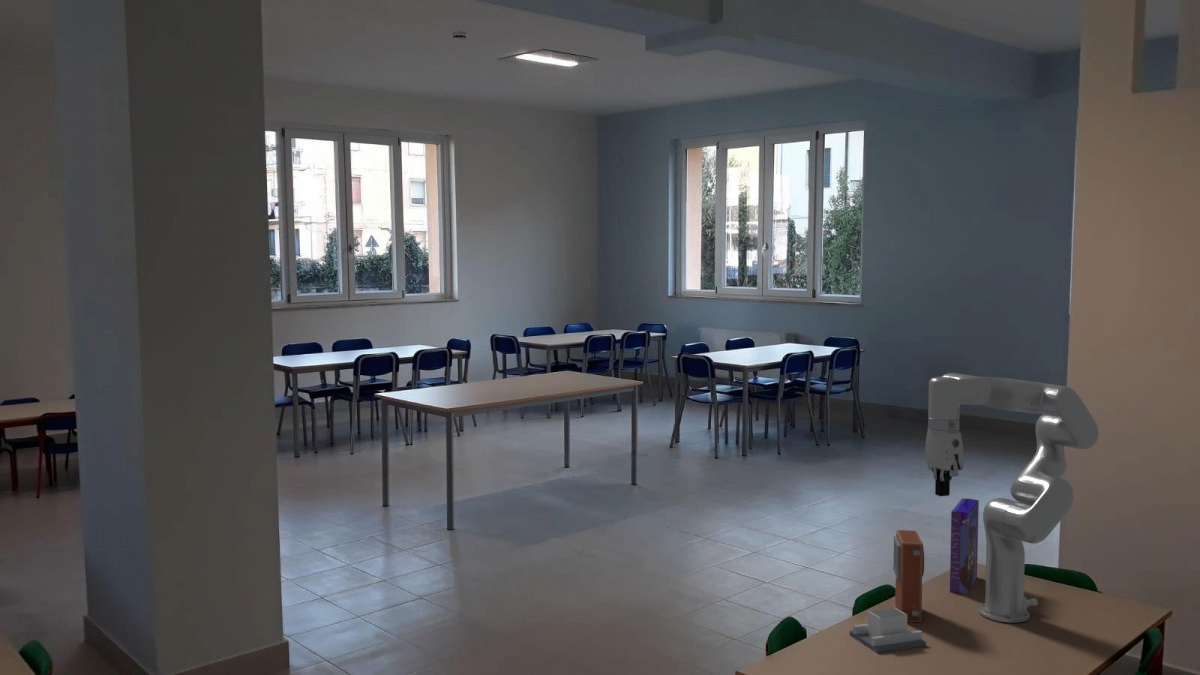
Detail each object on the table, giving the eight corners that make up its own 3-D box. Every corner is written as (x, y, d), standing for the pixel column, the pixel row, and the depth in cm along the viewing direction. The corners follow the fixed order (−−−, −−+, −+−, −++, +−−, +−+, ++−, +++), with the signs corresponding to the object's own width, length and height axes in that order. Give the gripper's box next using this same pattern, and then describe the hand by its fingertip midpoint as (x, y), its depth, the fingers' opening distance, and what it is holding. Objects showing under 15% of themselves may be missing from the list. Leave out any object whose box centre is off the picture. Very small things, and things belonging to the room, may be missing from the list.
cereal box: (967, 594, 268) (969, 512, 266) (949, 592, 271) (951, 510, 269) (977, 577, 283) (978, 499, 281) (960, 575, 285) (962, 497, 284)
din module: (895, 630, 239) (895, 607, 239) (906, 637, 235) (907, 614, 234) (867, 634, 237) (868, 611, 237) (879, 641, 232) (879, 618, 232)
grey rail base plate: (896, 628, 244) (896, 617, 243) (925, 645, 232) (925, 633, 232) (849, 634, 239) (849, 623, 239) (877, 652, 228) (877, 641, 228)
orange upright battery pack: (917, 604, 261) (924, 624, 246) (891, 603, 262) (897, 623, 247) (918, 529, 259) (926, 545, 244) (892, 528, 260) (898, 543, 246)
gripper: (975, 428, 234) (974, 500, 235) (937, 419, 248) (936, 487, 250) (950, 430, 232) (948, 503, 233) (913, 421, 246) (912, 490, 247)
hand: (942, 495), depth 241 cm, fingers closed
